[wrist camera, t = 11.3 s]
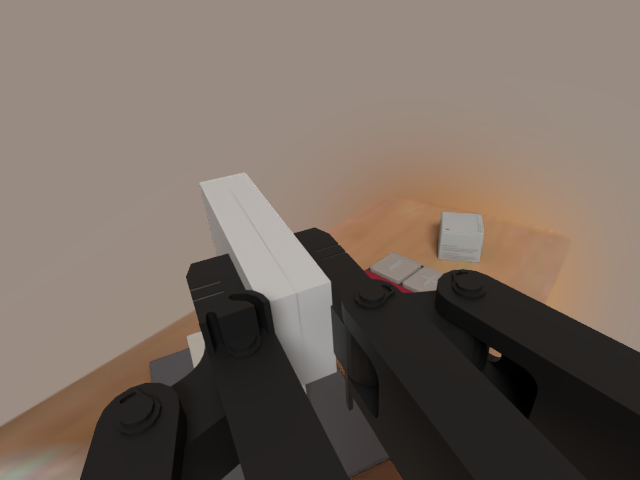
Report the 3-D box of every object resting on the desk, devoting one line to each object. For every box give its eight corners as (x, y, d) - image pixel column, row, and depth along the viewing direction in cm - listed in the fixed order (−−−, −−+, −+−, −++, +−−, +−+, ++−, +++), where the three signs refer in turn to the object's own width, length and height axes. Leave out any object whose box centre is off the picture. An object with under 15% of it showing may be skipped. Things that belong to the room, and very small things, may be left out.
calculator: (392, 247, 56) (498, 291, 46) (393, 273, 59) (494, 321, 48) (333, 284, 50) (440, 344, 40) (336, 312, 53) (438, 375, 42)
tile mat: (174, 565, 30) (172, 562, 30) (150, 365, 46) (149, 361, 46) (391, 457, 35) (391, 453, 35) (302, 312, 52) (301, 309, 51)
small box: (480, 264, 57) (485, 233, 55) (437, 260, 59) (439, 230, 56) (478, 242, 62) (482, 213, 59) (438, 239, 63) (440, 210, 61)
